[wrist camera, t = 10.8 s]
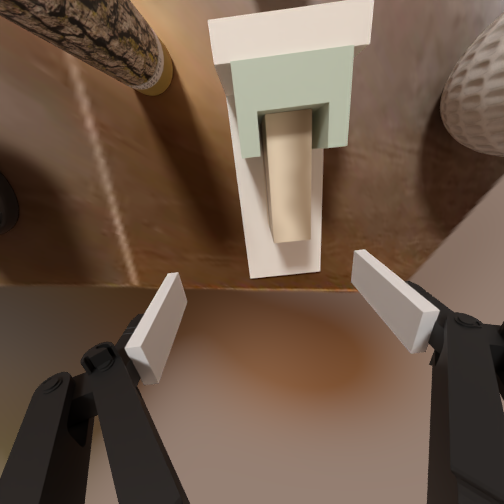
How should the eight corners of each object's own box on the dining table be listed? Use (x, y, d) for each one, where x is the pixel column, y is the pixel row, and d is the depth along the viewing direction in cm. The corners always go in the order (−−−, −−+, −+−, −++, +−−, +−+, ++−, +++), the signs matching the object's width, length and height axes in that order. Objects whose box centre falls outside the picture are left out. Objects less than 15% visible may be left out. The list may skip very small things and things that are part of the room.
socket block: (243, 156, 33) (241, 158, 23) (236, 94, 30) (230, 61, 19) (314, 147, 33) (347, 145, 22) (315, 83, 30) (354, 44, 19)
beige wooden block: (267, 221, 38) (273, 243, 29) (260, 124, 32) (265, 114, 23) (295, 218, 38) (310, 239, 29) (293, 120, 32) (312, 108, 23)
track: (250, 276, 44) (251, 321, 32) (222, 66, 30) (206, 11, 18) (318, 269, 44) (344, 312, 32) (324, 53, 29) (375, -13, 18)
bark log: (183, 60, 29) (-38, -254, 7) (161, 108, 32) (-60, -3, 9) (135, 19, 27) (-390, -600, 5) (115, 73, 30) (-305, -175, 7)
